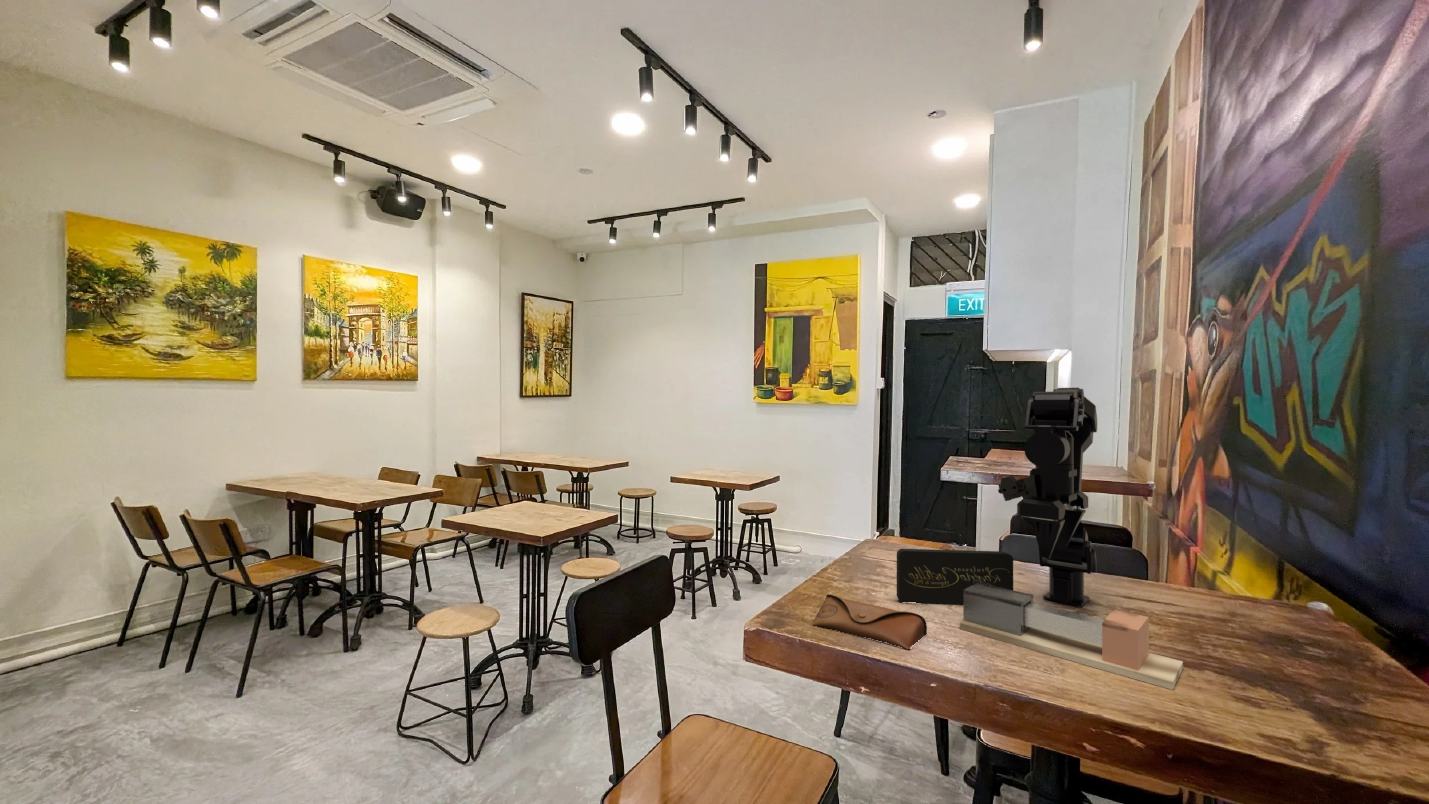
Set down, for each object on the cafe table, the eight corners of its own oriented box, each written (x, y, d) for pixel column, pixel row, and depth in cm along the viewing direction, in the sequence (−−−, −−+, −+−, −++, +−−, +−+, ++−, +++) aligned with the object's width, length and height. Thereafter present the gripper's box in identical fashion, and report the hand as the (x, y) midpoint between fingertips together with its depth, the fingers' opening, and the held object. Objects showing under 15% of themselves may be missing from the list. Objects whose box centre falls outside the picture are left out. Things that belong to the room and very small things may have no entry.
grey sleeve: (977, 611, 100) (977, 582, 100) (1033, 626, 93) (1033, 594, 93) (963, 620, 96) (963, 589, 96) (1020, 636, 89) (1020, 603, 89)
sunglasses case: (805, 625, 96) (814, 586, 99) (820, 634, 101) (827, 597, 104) (913, 651, 85) (919, 607, 88) (924, 661, 90) (929, 618, 93)
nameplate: (1008, 604, 107) (1008, 551, 107) (1013, 607, 105) (1013, 554, 105) (896, 600, 109) (896, 548, 109) (898, 603, 107) (899, 550, 107)
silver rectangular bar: (1008, 615, 95) (1008, 597, 95) (1132, 646, 82) (1132, 626, 82) (1002, 619, 93) (1002, 601, 93) (1128, 652, 80) (1128, 631, 80)
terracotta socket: (1114, 645, 86) (1114, 609, 86) (1148, 654, 83) (1148, 617, 83) (1102, 660, 81) (1102, 621, 81) (1138, 670, 78) (1138, 630, 78)
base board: (981, 615, 101) (981, 609, 101) (1183, 668, 81) (1182, 661, 81) (959, 628, 95) (959, 622, 95) (1172, 689, 74) (1172, 682, 74)
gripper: (1022, 457, 110) (1022, 537, 110) (985, 463, 97) (984, 553, 97) (1089, 461, 102) (1089, 547, 102) (1057, 468, 89) (1057, 567, 89)
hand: (1054, 553), depth 98 cm, fingers open, 9 cm apart
